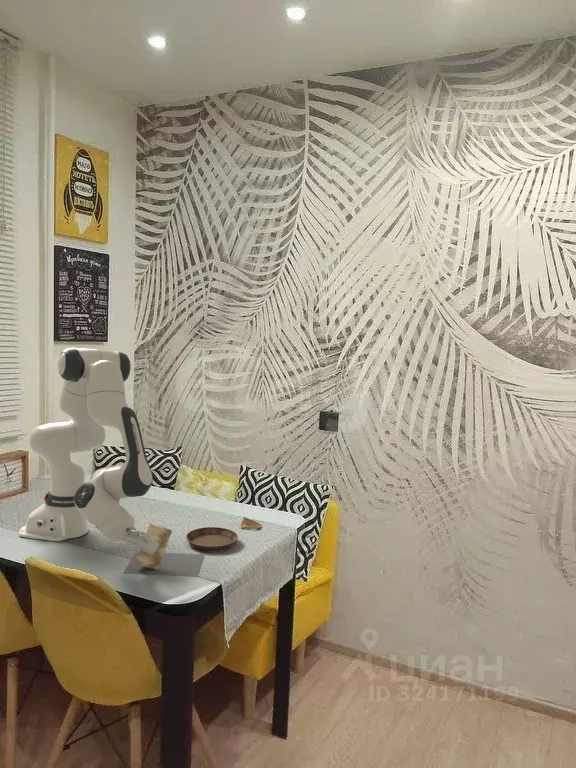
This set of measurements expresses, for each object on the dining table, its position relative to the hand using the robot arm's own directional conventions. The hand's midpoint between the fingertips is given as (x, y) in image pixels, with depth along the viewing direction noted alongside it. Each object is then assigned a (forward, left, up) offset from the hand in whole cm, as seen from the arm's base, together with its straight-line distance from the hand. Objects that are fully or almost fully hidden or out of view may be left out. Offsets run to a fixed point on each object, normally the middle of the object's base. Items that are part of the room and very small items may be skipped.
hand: (145, 549), depth 179 cm
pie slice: (+28, +46, -8) cm, 55 cm away
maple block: (0, +1, -5) cm, 5 cm away
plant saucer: (+17, +26, -8) cm, 33 cm away
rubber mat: (+5, +5, -7) cm, 11 cm away
